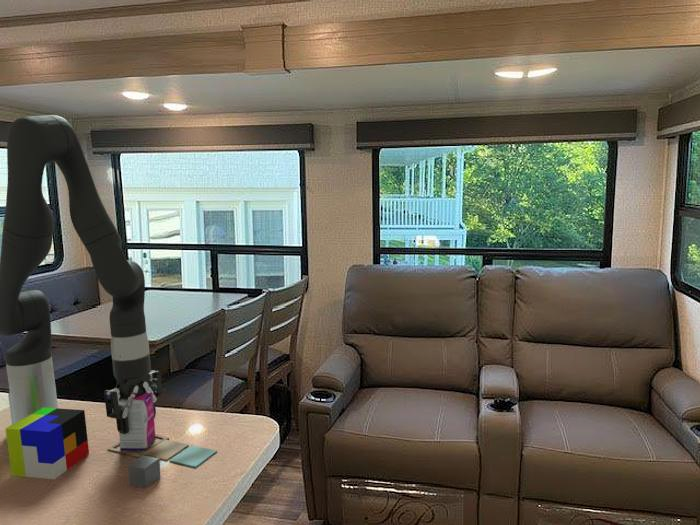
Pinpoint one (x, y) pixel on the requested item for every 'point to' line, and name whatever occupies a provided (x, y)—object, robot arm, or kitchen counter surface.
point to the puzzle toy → (47, 442)
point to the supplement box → (139, 424)
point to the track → (173, 452)
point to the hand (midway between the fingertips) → (137, 425)
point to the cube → (144, 471)
